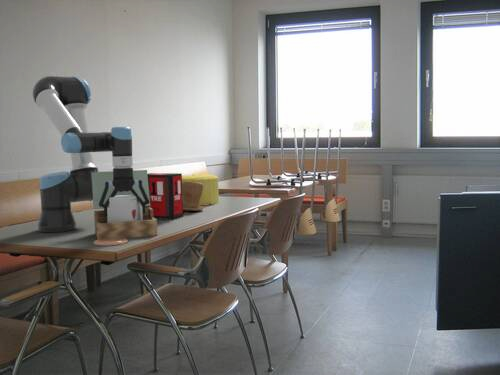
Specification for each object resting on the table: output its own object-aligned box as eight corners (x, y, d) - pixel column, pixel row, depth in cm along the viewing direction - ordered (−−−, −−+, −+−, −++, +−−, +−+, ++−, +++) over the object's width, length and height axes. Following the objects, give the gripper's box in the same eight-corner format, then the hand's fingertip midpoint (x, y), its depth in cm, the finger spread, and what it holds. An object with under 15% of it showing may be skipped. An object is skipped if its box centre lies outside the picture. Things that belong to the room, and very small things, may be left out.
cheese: (178, 200, 335) (177, 174, 333) (222, 200, 331) (222, 173, 330) (165, 206, 309) (164, 178, 308) (213, 206, 305) (212, 177, 304)
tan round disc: (94, 247, 203) (94, 245, 202) (92, 241, 214) (92, 239, 214) (129, 244, 206) (129, 242, 206) (125, 238, 218) (125, 236, 218)
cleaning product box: (183, 216, 270) (181, 173, 268) (173, 219, 261) (172, 175, 259) (151, 215, 276) (150, 173, 274) (141, 218, 267) (140, 174, 265)
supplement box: (132, 236, 221) (130, 197, 219) (110, 236, 222) (108, 197, 221) (141, 232, 230) (139, 194, 228) (119, 232, 231) (118, 194, 230)
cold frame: (97, 240, 215) (96, 215, 215) (95, 233, 230) (94, 210, 229) (157, 235, 222) (156, 212, 221) (151, 229, 237) (150, 207, 236)
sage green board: (91, 172, 232) (91, 172, 233) (93, 209, 229) (93, 209, 229) (146, 169, 239) (146, 170, 240) (150, 205, 236) (150, 205, 236)
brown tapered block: (208, 209, 291) (207, 179, 290) (197, 213, 280) (196, 182, 279) (181, 208, 297) (180, 179, 295) (169, 212, 286) (168, 181, 284)
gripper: (91, 169, 216) (93, 227, 218) (155, 166, 224) (157, 222, 226) (89, 168, 223) (92, 224, 225) (152, 165, 231) (154, 220, 233)
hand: (125, 223), depth 226 cm, fingers closed on supplement box, 12 cm apart
